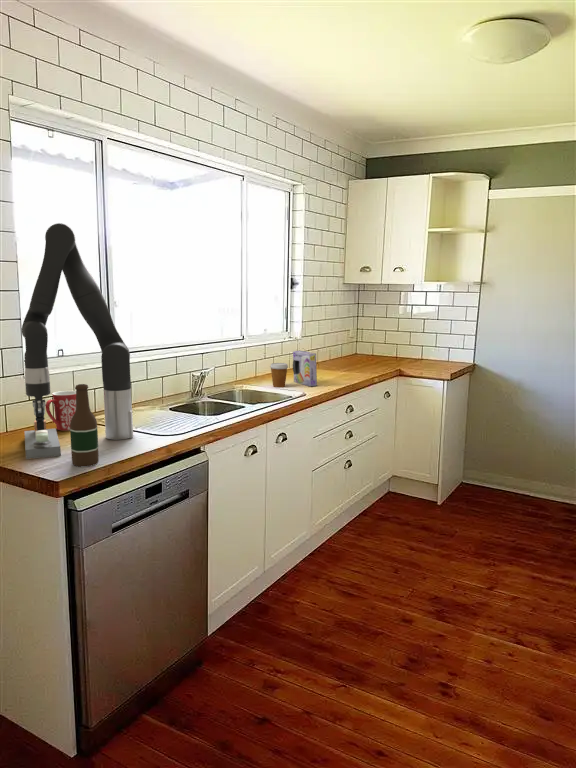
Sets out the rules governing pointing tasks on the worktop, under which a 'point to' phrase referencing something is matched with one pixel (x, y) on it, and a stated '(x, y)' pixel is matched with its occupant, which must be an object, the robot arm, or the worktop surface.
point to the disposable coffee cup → (279, 374)
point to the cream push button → (41, 431)
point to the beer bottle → (83, 431)
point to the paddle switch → (36, 425)
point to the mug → (62, 408)
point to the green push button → (42, 437)
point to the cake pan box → (304, 368)
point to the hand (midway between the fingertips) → (40, 431)
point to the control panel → (42, 445)
